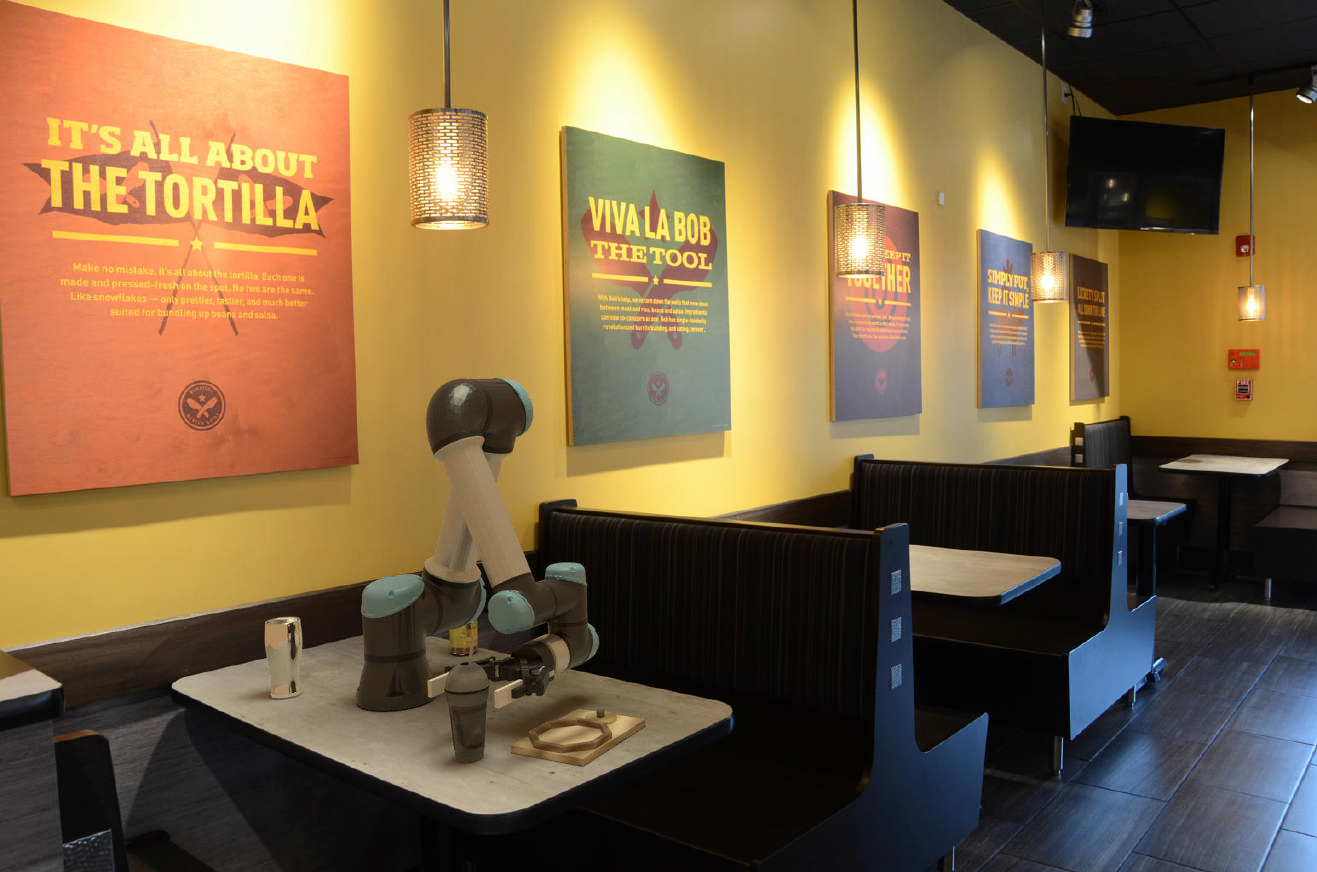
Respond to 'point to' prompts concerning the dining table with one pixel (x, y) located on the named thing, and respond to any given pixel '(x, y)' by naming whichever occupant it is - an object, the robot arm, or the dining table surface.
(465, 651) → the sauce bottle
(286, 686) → the beer glass
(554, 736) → the board
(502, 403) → the robot arm
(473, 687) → the beverage cup
